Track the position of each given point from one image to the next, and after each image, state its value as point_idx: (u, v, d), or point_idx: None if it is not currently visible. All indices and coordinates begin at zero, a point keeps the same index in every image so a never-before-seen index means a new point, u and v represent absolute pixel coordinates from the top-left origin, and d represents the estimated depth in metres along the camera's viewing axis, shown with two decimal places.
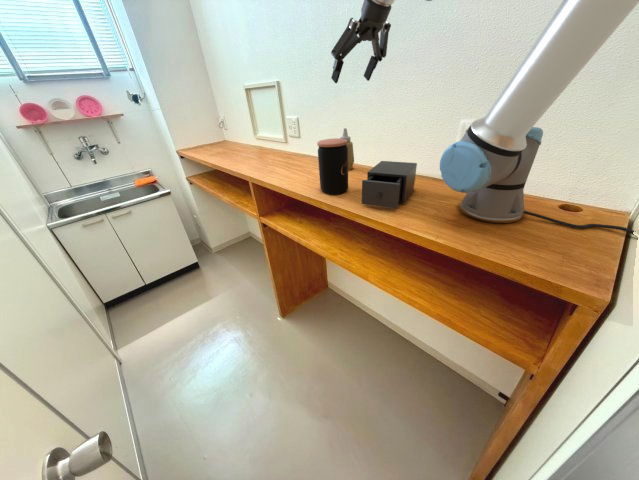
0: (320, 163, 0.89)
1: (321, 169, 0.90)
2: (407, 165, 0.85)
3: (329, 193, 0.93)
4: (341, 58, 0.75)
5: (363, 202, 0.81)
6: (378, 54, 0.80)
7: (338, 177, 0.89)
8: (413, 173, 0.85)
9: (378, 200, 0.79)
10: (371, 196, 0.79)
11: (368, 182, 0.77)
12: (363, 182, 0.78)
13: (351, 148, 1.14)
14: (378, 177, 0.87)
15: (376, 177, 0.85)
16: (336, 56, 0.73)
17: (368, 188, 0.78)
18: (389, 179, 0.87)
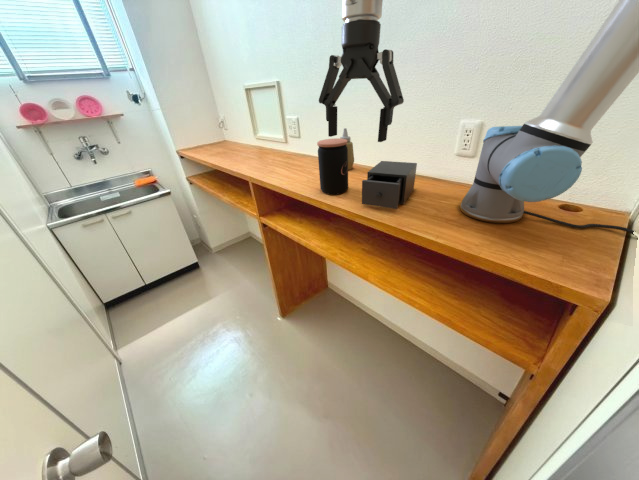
0: (320, 163, 0.89)
1: (321, 169, 0.90)
2: (407, 165, 0.85)
3: (329, 193, 0.93)
4: None
5: (363, 202, 0.81)
6: None
7: (338, 177, 0.89)
8: (413, 173, 0.85)
9: (378, 200, 0.79)
10: (371, 196, 0.79)
11: (368, 182, 0.77)
12: (363, 182, 0.78)
13: (351, 148, 1.14)
14: (378, 177, 0.87)
15: (376, 177, 0.85)
16: None
17: (368, 188, 0.78)
18: (389, 179, 0.87)
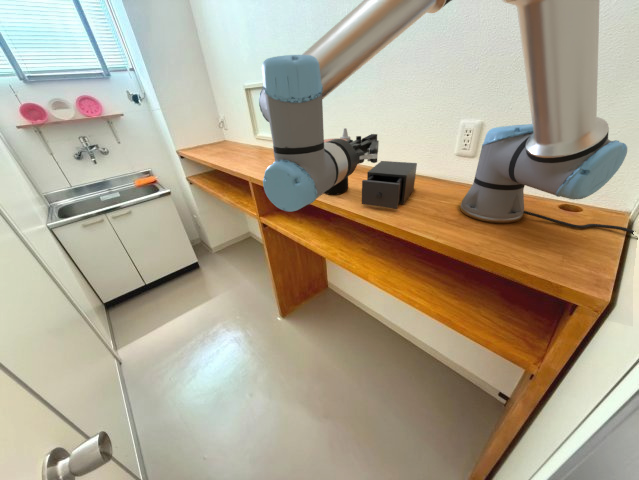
0: None
1: None
2: (407, 165, 0.85)
3: (329, 193, 0.93)
4: (369, 140, 0.57)
5: (363, 202, 0.81)
6: (356, 141, 0.57)
7: None
8: (413, 173, 0.85)
9: (378, 200, 0.79)
10: (371, 196, 0.79)
11: (368, 182, 0.77)
12: (363, 182, 0.78)
13: None
14: (378, 177, 0.87)
15: (376, 177, 0.85)
16: (376, 140, 0.56)
17: (368, 188, 0.78)
18: (389, 179, 0.87)
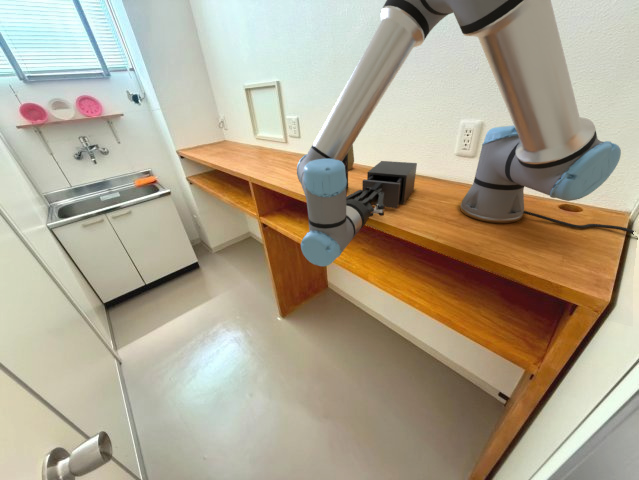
0: None
1: None
2: (407, 165, 0.85)
3: None
4: (376, 191, 0.70)
5: None
6: (365, 192, 0.70)
7: None
8: (413, 173, 0.85)
9: None
10: None
11: (368, 182, 0.78)
12: (363, 182, 0.78)
13: (351, 148, 1.14)
14: (378, 177, 0.87)
15: (376, 177, 0.85)
16: (382, 193, 0.68)
17: None
18: (389, 178, 0.87)
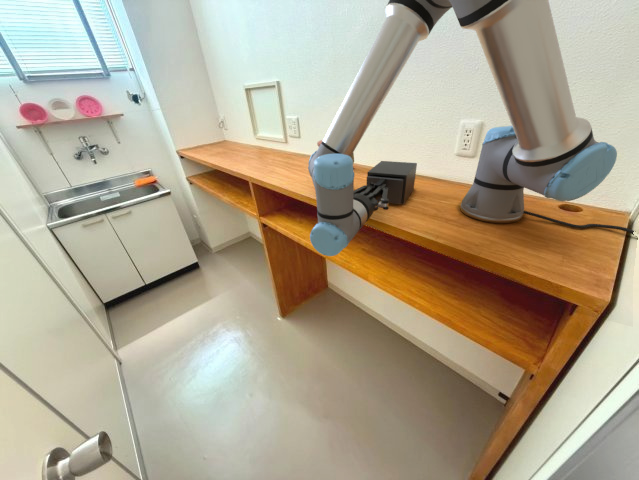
0: None
1: None
2: (407, 165, 0.85)
3: None
4: (380, 187, 0.72)
5: None
6: (370, 187, 0.72)
7: None
8: (413, 173, 0.85)
9: None
10: None
11: (372, 178, 0.80)
12: (368, 178, 0.81)
13: None
14: None
15: None
16: (386, 188, 0.71)
17: None
18: None
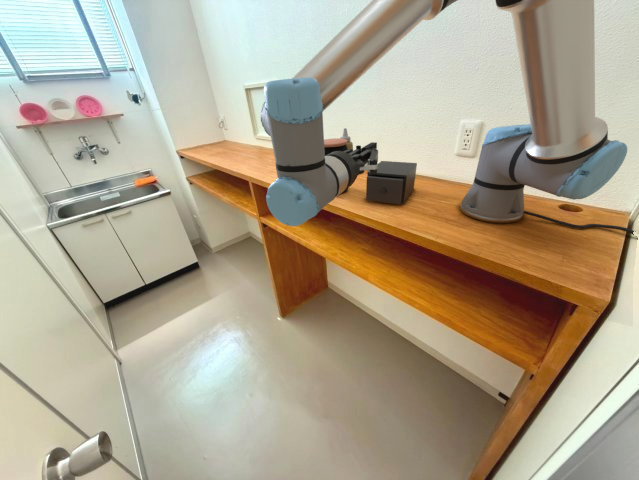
0: None
1: None
2: (407, 165, 0.85)
3: None
4: (368, 149, 0.58)
5: (367, 198, 0.84)
6: (356, 150, 0.58)
7: None
8: (413, 173, 0.85)
9: (382, 196, 0.81)
10: (375, 192, 0.82)
11: (372, 178, 0.80)
12: (368, 178, 0.81)
13: (351, 148, 1.14)
14: None
15: None
16: (376, 150, 0.57)
17: (372, 184, 0.81)
18: None
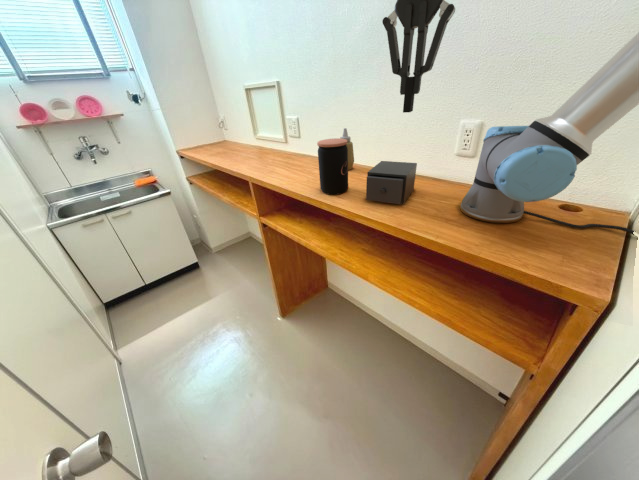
0: (320, 163, 0.89)
1: (321, 169, 0.90)
2: (407, 165, 0.85)
3: (329, 193, 0.93)
4: None
5: (367, 198, 0.84)
6: None
7: (338, 177, 0.89)
8: (413, 173, 0.85)
9: (382, 196, 0.81)
10: (375, 192, 0.82)
11: (372, 178, 0.80)
12: (368, 178, 0.81)
13: (351, 148, 1.14)
14: None
15: None
16: None
17: (372, 184, 0.81)
18: None
